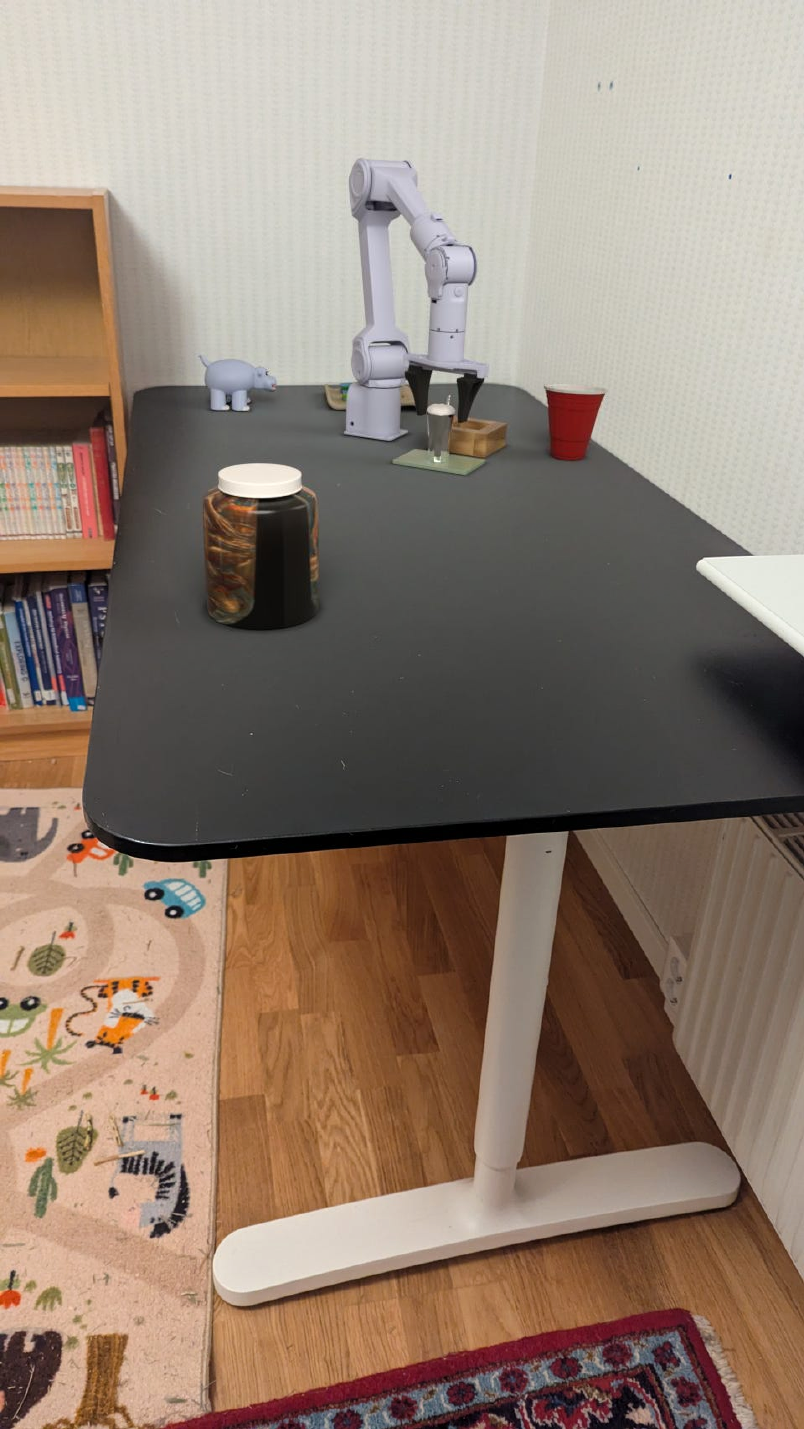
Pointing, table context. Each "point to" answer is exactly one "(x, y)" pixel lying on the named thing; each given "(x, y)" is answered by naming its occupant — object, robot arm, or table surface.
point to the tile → (451, 466)
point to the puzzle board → (339, 396)
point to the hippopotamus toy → (234, 382)
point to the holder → (477, 437)
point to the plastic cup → (572, 418)
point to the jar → (261, 547)
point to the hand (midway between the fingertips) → (441, 418)
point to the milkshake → (439, 430)
